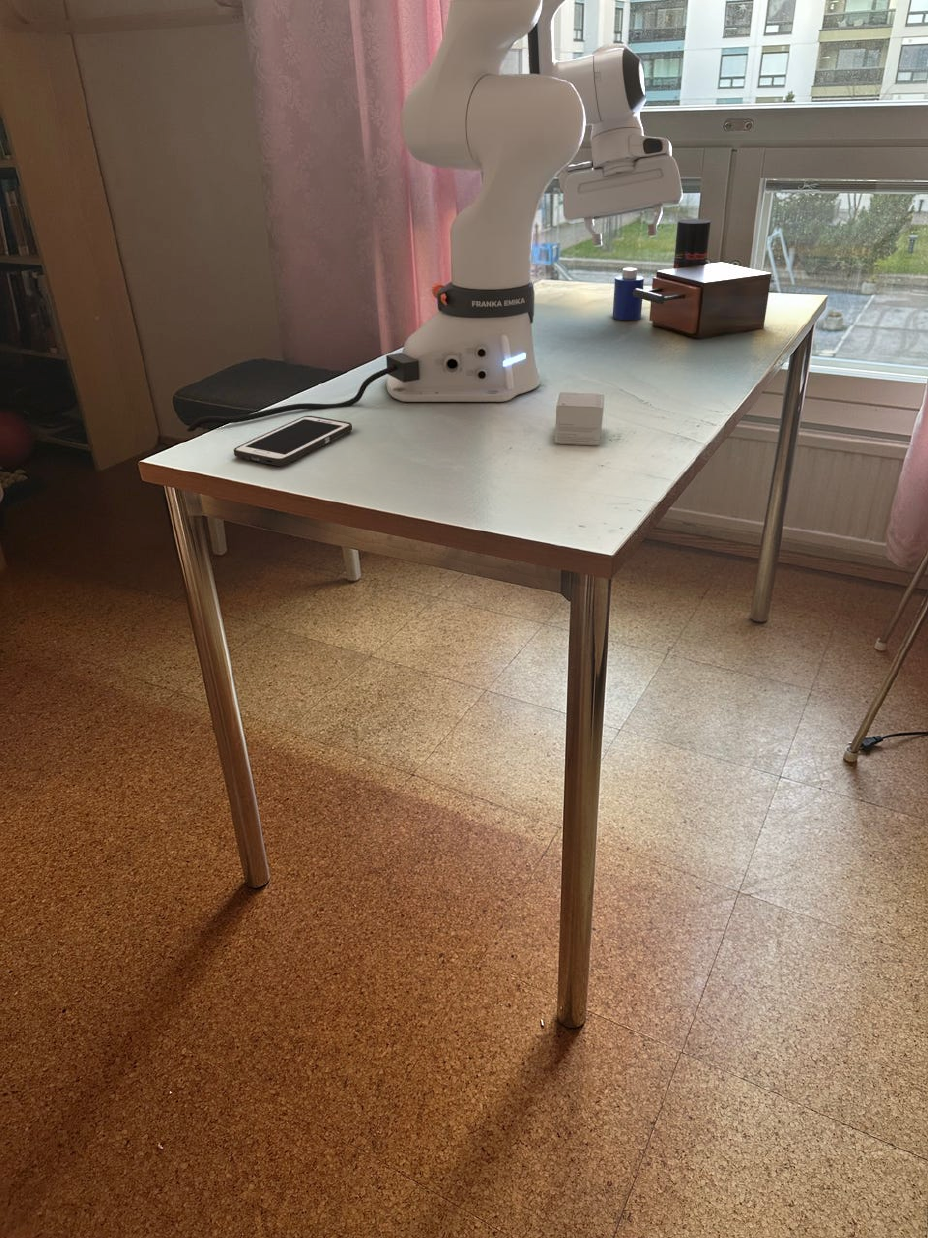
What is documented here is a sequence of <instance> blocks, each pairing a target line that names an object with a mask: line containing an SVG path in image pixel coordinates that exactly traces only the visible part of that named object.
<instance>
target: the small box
mask: <svg viewBox="0 0 928 1238" xmlns="http://www.w3.org/2000/svg"><path fill="white" fill-rule="evenodd" d="M604 406H605V394H604V393H597V392H596V393H595V392H593V393H592V392H571V391H570V392H569V391H568V392H567V391H561V392H559V394H558V397H557V403H556V408H555V424H554V425H555V427H554V443H555V444H557V445H558V444H559V445H560V444H561V445H579V446H600V445H601V436H602V429H603V419H604V409H605V407H604Z"/></svg>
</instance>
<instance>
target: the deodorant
mask: <svg viewBox="0 0 928 1238" xmlns="http://www.w3.org/2000/svg"><path fill="white" fill-rule="evenodd" d="M711 223H712V222H711V220H709V219H702V218H686V219H685V218H684V219H679V220H677V224H676V225H677V226H676V235H675V247H674V258H673V268H672V269H675V268H683V267H691V266H698V265H706V264H707V259H708V258H707V257H708V250H709V249H708V248H709V241H710V240H709V239H710V230H711Z"/></svg>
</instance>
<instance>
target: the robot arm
mask: <svg viewBox="0 0 928 1238" xmlns="http://www.w3.org/2000/svg"><path fill="white" fill-rule="evenodd" d="M567 1H568V0H449V7H448V14H447V20H446V23H445V24H446V25H445V28H444V32H443V35H442V38H441V41H440V44H439V46H438V49H437V51H436V53H435V55H434V58H433V60H432V62H431V64H430V66H429V67H428V69H427V71H426V72H425V74H424V75H423V76H422V78H421V79H420V80H419V81H417V83H416V84H415V85H414V86H413V87H412V88H411V89H410V91H408V93H407V95H406V98H405V99H404V102H403V106H402V110H401V117H400V129H401V135H402V138H403V141H404V143H405V147H406V148H407V150H408V152H409V153H410V155H411V156H412V157H413V158H414V159H415V160H416V161H418V162H421V163H423V164H427V165H430V166H432V167H436V168H439V169H442V170H445V171H461V172H462V171H463V172H482V180H481V185H480V190H479V193H478V195H477V198H476V199H475V201H474V202H472V203H470V204H469V205H468V206H466V207H465V208H463V209H462V210H461V211H460V212H459V213H457V215H456V216H455V217H454V219H453V221H452V223H451V226H450V231H449V235H450V238H449V239H450V273H451V275H450V276H451V281H450V282H448V283H447V284H445V285H444V283H442V282H440V281H437V282H434V283H433V285H432V286H431V294H432V295H433V297H434V298H435V299H436V302H437V309H438V311H437V312H436V313H435V314H434V315H433V316H431V317H430V318H429V319H428V320H427V321H425V323H423V324H422V325H421V326H420V327H419V328H417V329H416V330H415V331H413V333H412V334H410V335H409V336H408V337H407V338H406V340H405V342H404V345H403V348H402V350H401V351H402V352H398V353H391V354H386V355H385V359H386V368H383V369H381V370H378V371H377V372H375V373H373V374H372V375H370V376H368V377H367V378H366V379H365V380H364V381H363V382H362V383H361V385H360V386H359V389H358V391H357V393H356V394H355V395H354V397H352V398H350V399H348V400H345V401H343V402H339V403H313V402H311V403H309V402H308V403H293V404H287V405H282V406H277V407H273V408H269V409H265V410H261V411H257V412H252V413H247V414H244V415H237V416H218V415H217V416H216V415H207V416H203V417H200V418H198V419H195V421H193V422H192V423H191V424H190V425H189V426H188V428H187V430H186V432H189V433H190V432H194V431H195V430H196V429H197V428H199V427H200V426H202V425H203V424H207V423H208V424H209V423H218V424H219V423H221V424H236V423H242V422H247V421H253V420H257V419H260V418H265V417H270V416H272V415H277V414H282V413H286V412H292V411H298V410H329V409H338V408H346V407H352V406H353V405H355V404H357V403H358V402H360V400H361V399H362V397H363V396H364V394H365V391H366V389H367V388H368V386H369V385H371V384H372V383H373V382H375V381H376V380H378V379H379V378H382V377H384V376H386V375H387V378H386V390H387V392H388V394H389V396H391V397H392V398H393V399H396V400H397V401H400V402H403V403H404V402H405V403H406V402H408V403H411V402H412V403H416V402H417V403H420V402H421V403H429V402H430V403H435V402H436V403H440V402H441V403H454V402H455V403H457V402H459V403H460V402H461V403H463V402H464V403H465V402H466V403H469V402H470V403H471V402H472V403H473V402H474V403H478V402H479V403H483V402H484V403H487V402H489V403H491V402H494V403H495V402H497V403H499V402H500V403H502V402H508V401H510V400H513V398H515V397H516V396H518V395H521V394H524V393H527V392H530V391H533V390H535V389H536V388H537V387H539V386H540V385H541V378H540V374H539V371H538V367H537V362H536V355H535V349H534V341H533V340H534V339H533V329H532V328H533V327H532V324H533V323H534V316H535V289H534V288H535V287H534V285H535V283H534V282H533V281H532V280H531V279H532V253H533V240H534V239H533V238H534V227H535V223H536V222H535V221H536V217H537V213H538V210H539V207H540V204H541V202H542V200H543V197H544V195H545V193H546V191H547V189H548V188H549V187H550V184H551V183H552V181H553V180H554V179H555V177H557V176H558V174H559V173H560V174H559V177H558V185H559V190H560V192H561V193H562V214H563V219H564V220H565V221H566V222H567V223H568V224H570V225H573V224H580V223H584V226H585V228H586V230H587V231H588V232H589V233H590V236H592V245H593V247H594V248H597V247H602V246H603V245H604V244H603V235H602V233H600V232H599V233H596V232H595V230H594V229H593V227H595V220H601V219H606V218H611V217H612V218H613V217H617V216H623V215H628V214H629V215H630V214H634V213H638V212H644V211H649V210H653V216H655V217H654V219H653V221H652V223H651V224H647V233H648V238H653V237H654V238H655V237H658V225H659V223H660V222H661V221H660V220H661V219H662V216H663V208H666V207H672V206H677V205H679V204H680V203H681V202H682V200H683V188H682V180H681V175H680V171H679V167H678V163H677V161H676V159H675V158H674V157H673V156H672V151H673V150H672V144H671V142H670V141H669V139H668V138H665V137H656V136H648V135H644V128H643V125H642V122H641V118H640V117H641V116H640V113H641V110H642V109H643V107H644V105H645V103H646V101H647V95H646V81H645V79H646V77H645V74H646V73H645V64H644V62H643V60H642V59H641V58H640V57H639V56H638V55H637V54H636V53H634V52H633V51H632V49H631V48H630V47H629V46H627V45H625V44H622V43H609V44H605V45H603V46H600V47H598V48H597V49H595V50H594V51H593V52H592V53H591V54H590V55H586V56H582V57H578V58H574V59H570V60H569V59H568V60H566V61H565V60H564V61H560V60H557V59H555V45H554V44H555V43H554V42H555V41H554V18H555V15H556V13H557V12H558V10H559V9H560V8H561V6H563V5H564V4H565V3H566V2H567ZM526 35H527V51H528V52H527V53H528V70H529V73H509V74H508V73H507V74H503V72H502V70H503V67H504V64H505V62H506V60H507V57H508V55H509V53H510V52H511V50H512V48H513V47H514V46H515V45H516V43H517V42H518V41H519V40H521V39H522V38H524V37H525V36H526ZM587 126H588V127H589V126H591V133H590V148H591V159H592V160H589V161H584V162H581V163H578V164H570V163H572V161H573V159H574V158H575V157H576V155H577V154H578V152H579V151H580V148H581V145H582V144H583V143H582V142H584V141H583V140H584V136H585V131H586V127H587ZM569 164H570V165H569Z"/></svg>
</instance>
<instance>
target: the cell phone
mask: <svg viewBox="0 0 928 1238" xmlns="http://www.w3.org/2000/svg"><path fill="white" fill-rule="evenodd" d="M352 430H353V425H352V423H351V422H349V421H343V420H338V419H332V418H327V417H322V416H316V415H303V416H301V417H299V418H296V419H294V420H293V421H290V422H288V423H286V424H284V425H281V426H279V427H276V428H274V429H273V430H270V431H268V432H266V433H264V434H262V435H259V436H257V437H255V438H253V439H251V440H248V441H246V442H244V443H241V444H240V445H238V446H236V447H234V448H233V456H235V457H236V458H239V459H243V460H249V461H254V462H258V463H262V464H267V465H271V466H278V467H282V466H285V465H287V464H289V463H291V462H293V461H295V460H297V459H299V458H301V457H303V456H305V455H308V454H309V453H311V452H313V451H315V450H317V449H319V448H320V447H323V446H324V445H327V444H329V443H330V442H332V441H334V440H336V439H339V438H340V437H342V436H344V435H346V434H348V433H350V432H351V431H352Z"/></svg>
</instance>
